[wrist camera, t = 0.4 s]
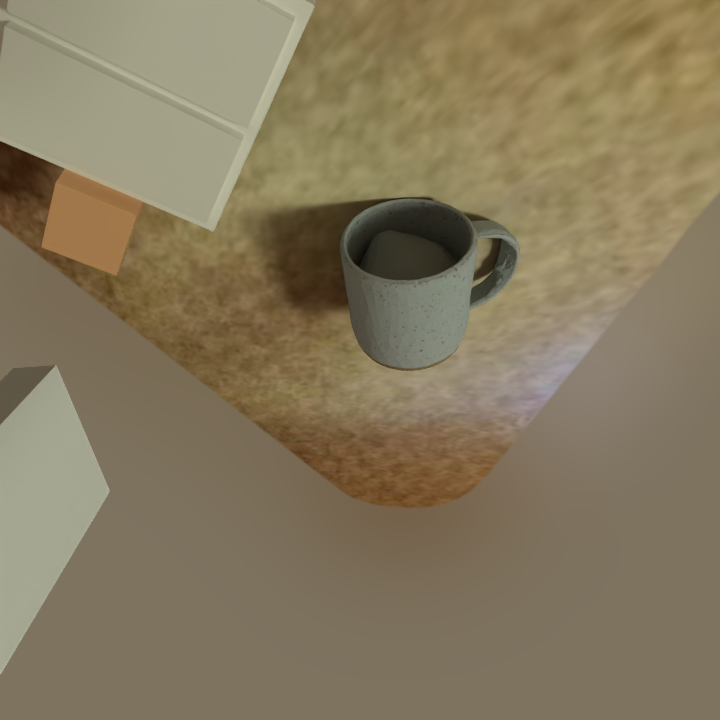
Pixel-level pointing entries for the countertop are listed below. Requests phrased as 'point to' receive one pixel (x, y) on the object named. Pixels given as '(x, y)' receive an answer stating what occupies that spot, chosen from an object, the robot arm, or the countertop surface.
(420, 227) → the ceramic mug
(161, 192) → the lid
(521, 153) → the countertop surface
